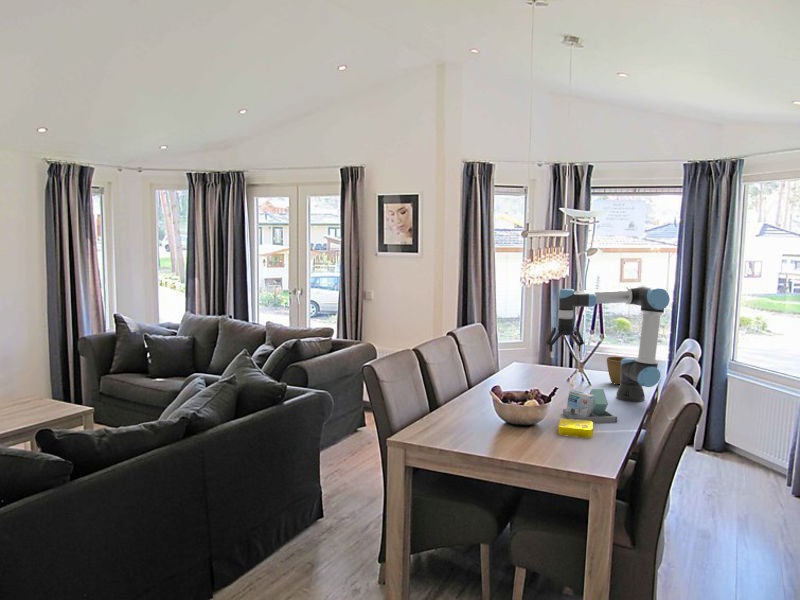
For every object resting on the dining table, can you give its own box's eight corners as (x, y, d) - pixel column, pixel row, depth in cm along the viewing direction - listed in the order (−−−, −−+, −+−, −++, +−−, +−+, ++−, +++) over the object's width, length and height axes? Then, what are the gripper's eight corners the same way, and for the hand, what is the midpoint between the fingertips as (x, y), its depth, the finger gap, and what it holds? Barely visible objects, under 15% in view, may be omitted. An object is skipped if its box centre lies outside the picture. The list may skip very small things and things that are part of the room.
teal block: (602, 415, 307) (597, 400, 313) (608, 404, 300) (603, 389, 306) (590, 415, 306) (586, 400, 313) (596, 404, 299) (591, 389, 306)
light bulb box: (565, 411, 303) (569, 390, 302) (570, 409, 308) (574, 389, 308) (586, 417, 297) (589, 395, 296) (590, 415, 302) (594, 394, 301)
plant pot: (601, 383, 382) (602, 358, 381) (613, 380, 392) (614, 355, 391) (623, 387, 371) (624, 361, 370) (635, 384, 381) (636, 359, 380)
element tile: (592, 429, 286) (593, 419, 286) (592, 439, 272) (592, 428, 272) (559, 426, 291) (560, 416, 291) (557, 435, 277) (558, 425, 276)
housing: (602, 414, 311) (602, 408, 311) (616, 423, 295) (617, 417, 295) (563, 415, 309) (563, 409, 309) (575, 424, 293) (575, 417, 293)
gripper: (585, 317, 326) (584, 356, 328) (540, 317, 324) (539, 356, 325) (591, 318, 319) (589, 358, 321) (545, 318, 316) (544, 359, 318)
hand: (564, 357), depth 323 cm, fingers open, 13 cm apart
